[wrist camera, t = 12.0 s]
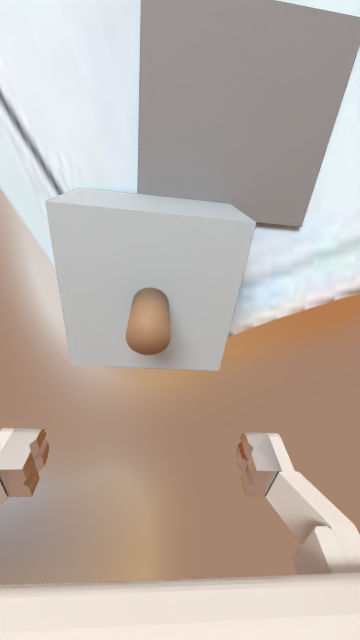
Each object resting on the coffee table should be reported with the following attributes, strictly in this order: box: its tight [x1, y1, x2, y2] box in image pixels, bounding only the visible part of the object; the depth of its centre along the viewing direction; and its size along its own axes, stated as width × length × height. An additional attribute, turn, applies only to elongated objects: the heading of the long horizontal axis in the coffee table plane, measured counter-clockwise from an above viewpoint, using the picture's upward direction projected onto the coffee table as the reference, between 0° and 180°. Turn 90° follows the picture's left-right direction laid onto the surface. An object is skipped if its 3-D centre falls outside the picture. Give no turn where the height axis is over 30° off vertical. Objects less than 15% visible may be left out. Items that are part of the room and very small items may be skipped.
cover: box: [45, 187, 256, 371], centre depth 24 cm, size 15×15×14 cm
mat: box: [137, 0, 360, 227], centre depth 24 cm, size 18×16×1 cm
